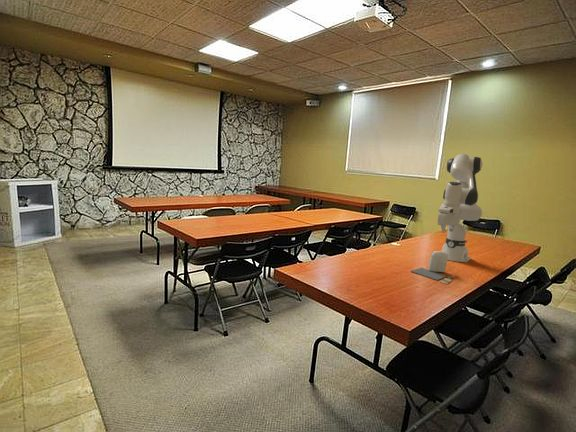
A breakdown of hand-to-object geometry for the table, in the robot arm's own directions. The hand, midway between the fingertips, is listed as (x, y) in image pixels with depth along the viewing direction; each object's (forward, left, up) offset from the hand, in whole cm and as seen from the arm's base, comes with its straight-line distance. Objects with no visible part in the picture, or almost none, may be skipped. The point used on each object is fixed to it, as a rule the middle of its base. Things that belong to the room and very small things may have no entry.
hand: (447, 232), depth 195 cm
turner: (+16, +11, -24) cm, 31 cm away
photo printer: (+7, 0, -24) cm, 25 cm away
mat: (+16, 0, -24) cm, 29 cm away
